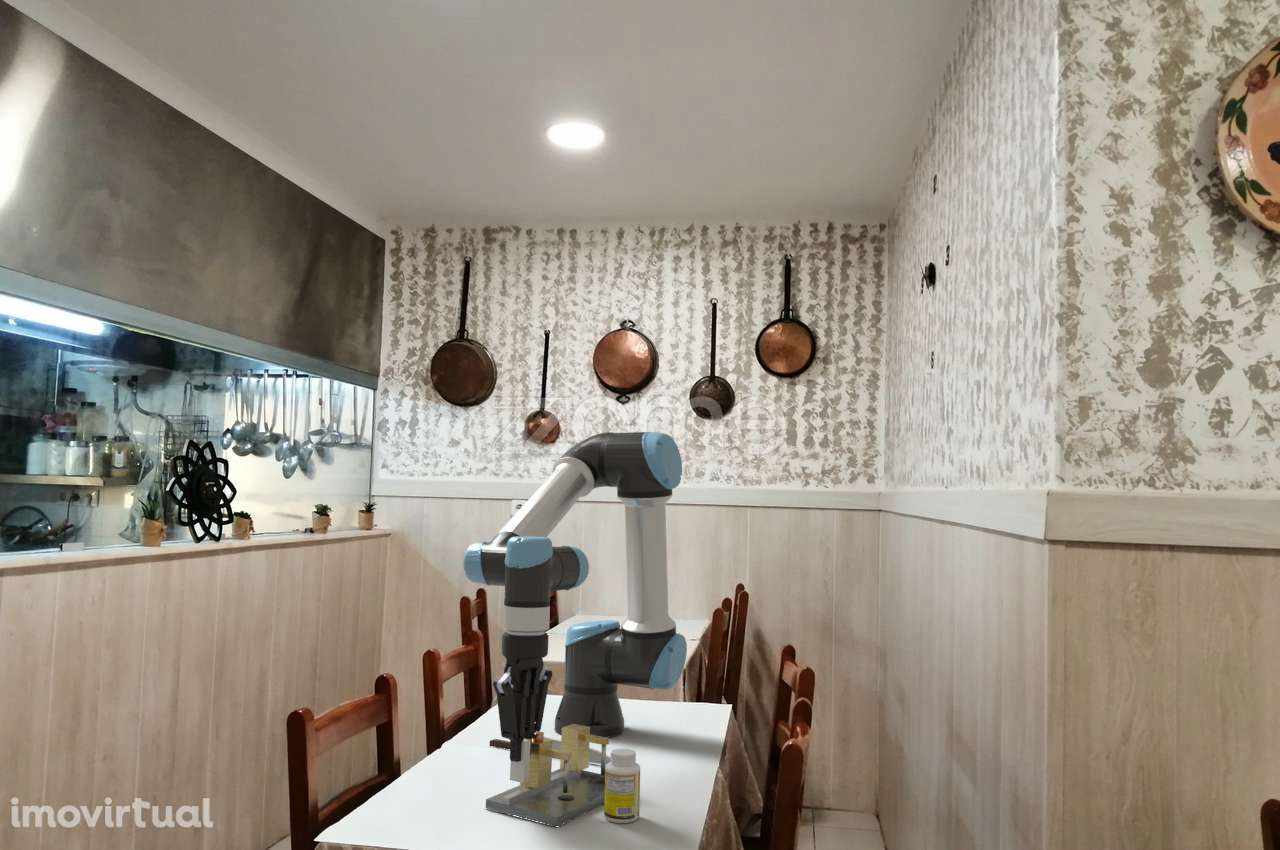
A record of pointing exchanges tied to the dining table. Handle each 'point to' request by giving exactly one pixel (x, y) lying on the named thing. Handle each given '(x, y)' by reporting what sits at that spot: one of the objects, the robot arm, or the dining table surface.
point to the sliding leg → (545, 763)
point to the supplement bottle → (622, 787)
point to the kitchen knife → (556, 744)
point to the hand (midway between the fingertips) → (519, 780)
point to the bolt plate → (553, 798)
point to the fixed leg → (581, 747)
